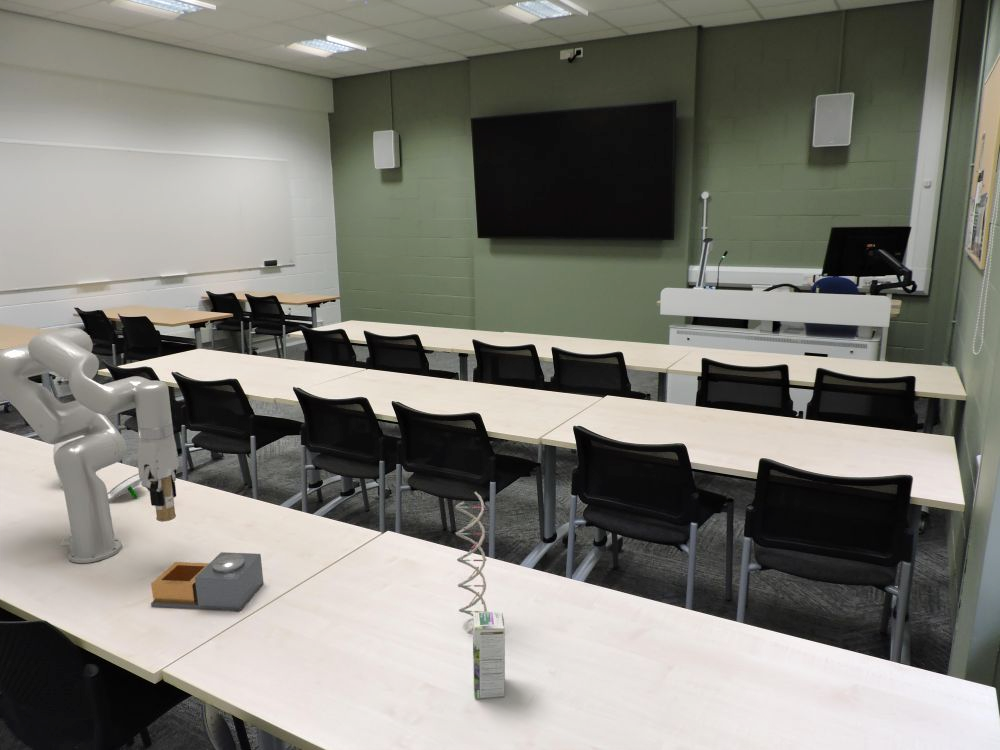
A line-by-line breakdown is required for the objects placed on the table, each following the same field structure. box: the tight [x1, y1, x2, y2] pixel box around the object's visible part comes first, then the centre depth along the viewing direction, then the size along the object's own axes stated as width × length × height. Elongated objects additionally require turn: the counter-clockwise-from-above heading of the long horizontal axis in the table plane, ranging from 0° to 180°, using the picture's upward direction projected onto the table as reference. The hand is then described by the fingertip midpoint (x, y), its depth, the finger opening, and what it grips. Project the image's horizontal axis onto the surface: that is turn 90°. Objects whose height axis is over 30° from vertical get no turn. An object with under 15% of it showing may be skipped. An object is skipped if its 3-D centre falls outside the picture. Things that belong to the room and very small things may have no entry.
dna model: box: [454, 491, 488, 634], centre depth 148 cm, size 7×6×30 cm
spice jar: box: [152, 469, 177, 523], centre depth 174 cm, size 5×5×13 cm
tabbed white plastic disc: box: [107, 472, 142, 501], centre depth 222 cm, size 15×8×11 cm
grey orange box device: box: [150, 551, 265, 612], centre depth 165 cm, size 22×15×9 cm
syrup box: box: [472, 611, 506, 700], centre depth 130 cm, size 6×6×14 cm
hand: (164, 500), depth 174 cm, fingers closed on spice jar, 4 cm apart
